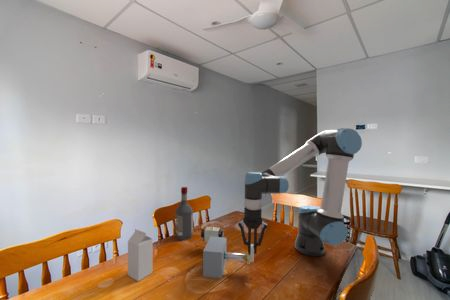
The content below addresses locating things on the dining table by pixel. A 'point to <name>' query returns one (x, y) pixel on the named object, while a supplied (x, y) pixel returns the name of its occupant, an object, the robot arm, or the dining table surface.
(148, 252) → the milk carton
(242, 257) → the pin
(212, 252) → the block
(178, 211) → the liquor
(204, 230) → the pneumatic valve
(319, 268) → the dining table surface
